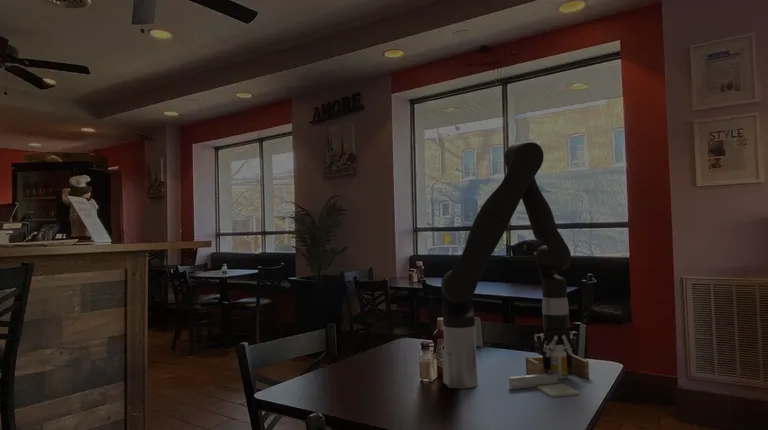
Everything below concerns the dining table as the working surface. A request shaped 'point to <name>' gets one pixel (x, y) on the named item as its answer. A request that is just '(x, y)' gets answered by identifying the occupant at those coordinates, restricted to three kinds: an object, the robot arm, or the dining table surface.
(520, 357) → the dining table surface
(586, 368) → the bracket
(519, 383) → the bar
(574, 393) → the coaster
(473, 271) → the robot arm
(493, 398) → the dining table surface
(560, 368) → the supplement bottle
